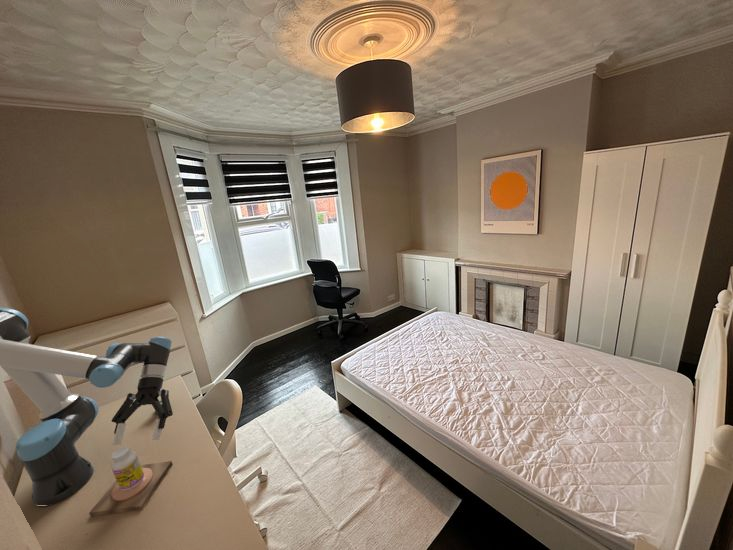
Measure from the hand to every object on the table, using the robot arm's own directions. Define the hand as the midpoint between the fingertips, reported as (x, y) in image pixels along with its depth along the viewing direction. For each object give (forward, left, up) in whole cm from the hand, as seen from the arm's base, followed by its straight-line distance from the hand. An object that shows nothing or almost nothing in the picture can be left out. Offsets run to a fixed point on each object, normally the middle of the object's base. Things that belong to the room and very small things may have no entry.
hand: (136, 442), depth 100 cm
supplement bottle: (-1, -5, -11) cm, 13 cm away
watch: (-17, +36, -14) cm, 42 cm away
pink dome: (-1, -5, -12) cm, 13 cm away
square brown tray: (-1, -5, -14) cm, 15 cm away
